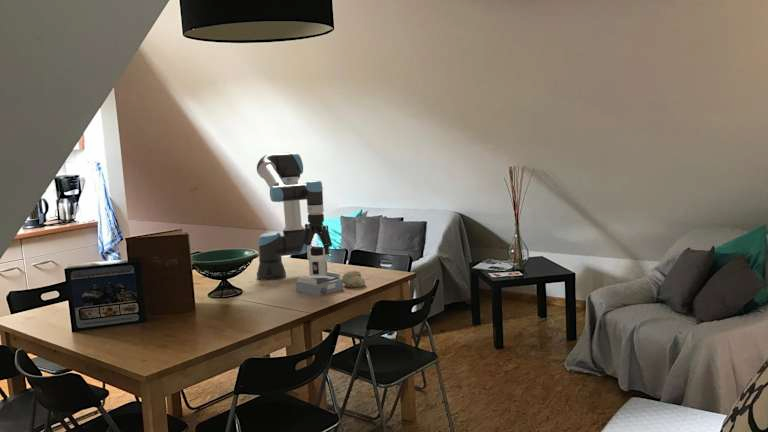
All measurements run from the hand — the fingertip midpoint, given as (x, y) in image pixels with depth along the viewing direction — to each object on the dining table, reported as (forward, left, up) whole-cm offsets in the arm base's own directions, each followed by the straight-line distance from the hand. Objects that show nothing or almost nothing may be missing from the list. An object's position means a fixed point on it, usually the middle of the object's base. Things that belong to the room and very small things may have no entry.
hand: (318, 259), depth 320 cm
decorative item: (+7, +15, -15) cm, 23 cm away
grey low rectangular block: (0, 0, -15) cm, 15 cm away
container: (0, 0, -7) cm, 7 cm away
